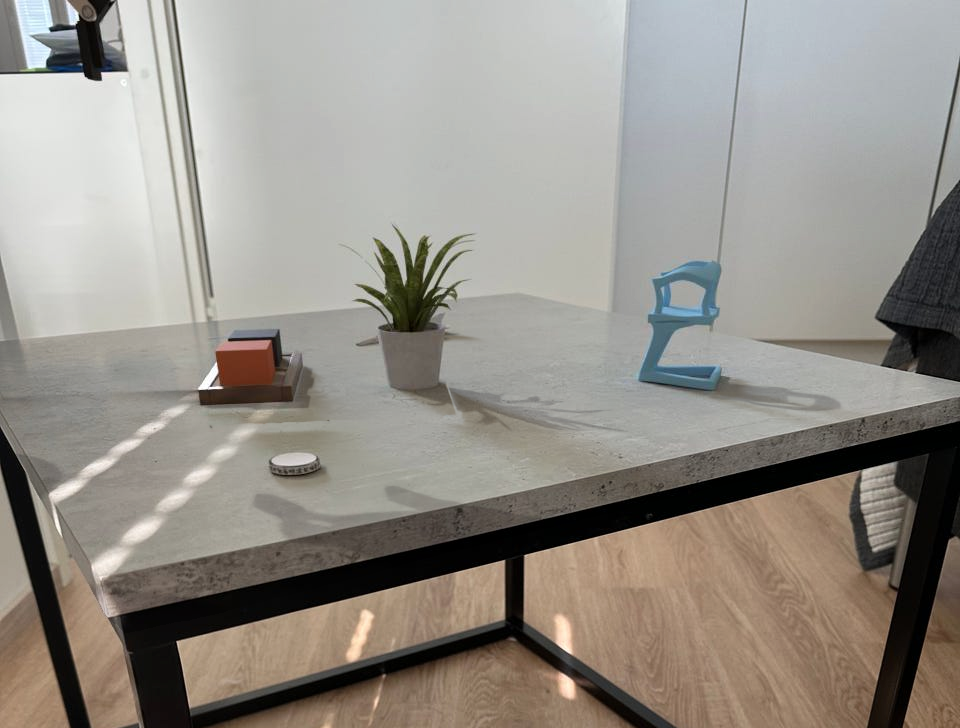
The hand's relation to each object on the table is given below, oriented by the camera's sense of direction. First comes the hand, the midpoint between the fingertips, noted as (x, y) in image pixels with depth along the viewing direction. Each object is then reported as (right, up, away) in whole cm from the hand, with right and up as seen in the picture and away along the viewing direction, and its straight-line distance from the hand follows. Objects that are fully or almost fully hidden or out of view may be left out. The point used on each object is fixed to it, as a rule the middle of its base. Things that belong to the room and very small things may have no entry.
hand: (34, 79), depth 77 cm
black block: (+13, -18, +25) cm, 33 cm away
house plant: (+32, -20, +20) cm, 43 cm away
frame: (+13, -20, +21) cm, 32 cm away
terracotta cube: (+14, -21, +17) cm, 31 cm away
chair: (+58, -19, +22) cm, 65 cm away
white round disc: (+22, -33, -4) cm, 40 cm away
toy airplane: (+28, -6, +47) cm, 55 cm away
